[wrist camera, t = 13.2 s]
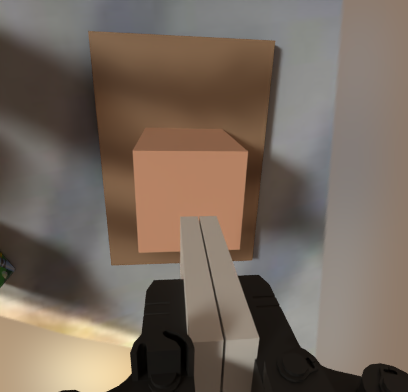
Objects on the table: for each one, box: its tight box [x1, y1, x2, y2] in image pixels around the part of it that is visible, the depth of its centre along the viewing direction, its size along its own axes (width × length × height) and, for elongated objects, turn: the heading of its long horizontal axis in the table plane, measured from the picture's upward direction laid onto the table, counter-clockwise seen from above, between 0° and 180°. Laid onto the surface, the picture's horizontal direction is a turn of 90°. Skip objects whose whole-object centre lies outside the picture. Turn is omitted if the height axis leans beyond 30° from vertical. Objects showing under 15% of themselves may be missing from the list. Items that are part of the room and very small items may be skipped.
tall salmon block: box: [133, 128, 248, 253], centre depth 21 cm, size 6×6×9 cm
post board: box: [88, 31, 275, 265], centre depth 23 cm, size 20×14×8 cm
